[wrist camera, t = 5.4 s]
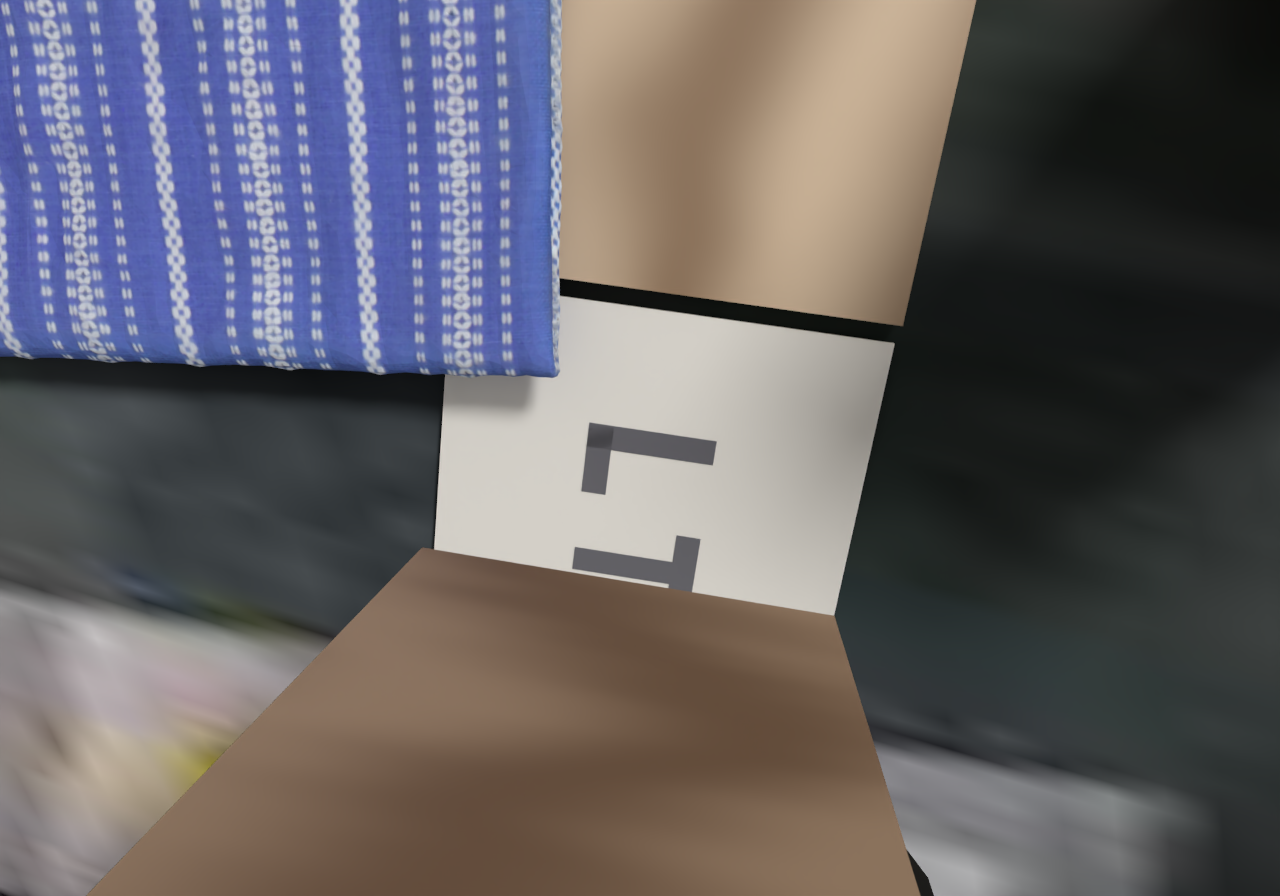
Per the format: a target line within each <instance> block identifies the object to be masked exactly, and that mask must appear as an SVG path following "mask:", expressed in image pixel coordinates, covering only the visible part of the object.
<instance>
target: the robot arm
mask: <svg viewBox="0 0 1280 896" xmlns="http://www.w3.org/2000/svg"><path fill="white" fill-rule="evenodd" d="M906 850H907V849H906ZM907 854H908V857H909V860H910V863H911V867H912V870H913V873H914V876H915V880H916V883H917V886H918V889H919V893H920V896H934V895H933V892H932V889H931V886H930V883H929V880H928V877H927V876H926V875H925V873H924V872H923V871H922V869H921V868H920V867H919V865H918V864H917V863H916V861H915V860H914V859H913V857H912V856H911V855H910V853H909V852H908V851H907Z"/></svg>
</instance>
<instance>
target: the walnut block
mask: <svg viewBox="0 0 1280 896" xmlns="http://www.w3.org/2000/svg"><path fill="white" fill-rule="evenodd" d="M86 896H920V893H919V889H918V886H917V883H916V880H915V876H914V873H913V870H912V867H911V863H910V860H909V857H908V854H907V850H906V847H905V844H904V841H903V837H902V834H901V831H900V828H899V824H898V821H897V818H896V815H895V811H894V808H893V805H892V802H891V798H890V795H889V792H888V789H887V785H886V782H885V779H884V776H883V772H882V769H881V766H880V763H879V759H878V756H877V753H876V750H875V746H874V743H873V740H872V737H871V734H870V730H869V727H868V724H867V721H866V717H865V714H864V711H863V708H862V704H861V701H860V698H859V695H858V691H857V688H856V685H855V682H854V678H853V675H852V672H851V669H850V665H849V662H848V659H847V656H846V652H845V649H844V646H843V643H842V639H841V636H840V633H839V630H838V626H837V623H836V620H835V617H834V616H833V615H827V614H821V613H815V612H809V611H803V610H797V609H791V608H785V607H779V606H773V605H767V604H761V603H755V602H749V601H743V600H737V599H731V598H725V597H718V596H712V595H706V594H700V593H694V592H688V591H682V590H676V589H670V588H664V587H658V586H652V585H646V584H640V583H634V582H628V581H622V580H616V579H610V578H604V577H598V576H591V575H585V574H579V573H573V572H567V571H561V570H555V569H549V568H543V567H537V566H531V565H525V564H519V563H513V562H507V561H501V560H495V559H489V558H483V557H477V556H471V555H465V554H458V553H452V552H446V551H440V550H434V549H428V548H421V549H420V550H419V551H418V552H417V553H416V554H415V556H414V557H413V558H412V559H411V560H410V561H409V562H408V563H407V564H406V565H405V566H404V567H403V568H402V569H401V570H400V571H399V572H398V573H397V574H396V575H395V576H394V577H393V578H392V579H391V580H390V581H389V582H388V583H387V585H386V586H385V587H384V588H383V589H382V590H381V591H380V592H379V593H378V594H377V595H376V596H375V597H374V598H373V599H372V600H371V601H370V602H369V603H368V604H367V605H366V606H365V607H364V608H363V609H362V610H361V611H360V612H359V614H358V615H357V616H356V617H355V618H354V619H353V620H352V621H351V622H350V623H349V624H348V625H347V626H346V627H345V628H344V629H343V630H342V631H341V632H340V633H339V634H338V635H337V636H336V637H335V638H334V639H333V640H332V641H331V643H330V644H329V645H328V646H327V647H326V648H325V649H324V650H323V651H322V652H321V653H320V654H319V655H318V656H317V657H316V658H315V659H314V660H313V661H312V662H311V663H310V664H309V665H308V666H307V667H306V668H305V669H304V670H303V672H302V673H301V674H300V675H299V676H298V677H297V678H296V679H295V680H294V681H293V682H292V683H291V684H290V685H289V686H288V687H287V688H286V689H285V690H284V691H283V692H282V693H281V694H280V695H279V696H278V697H277V698H276V699H275V701H274V702H273V703H272V704H271V705H270V706H269V707H268V708H267V709H266V710H265V711H264V712H263V713H262V714H261V715H260V716H259V717H258V718H257V719H256V720H255V721H254V722H253V723H252V724H251V725H250V726H249V727H248V728H247V730H246V731H245V732H244V733H243V734H242V735H241V736H240V737H239V738H238V739H237V740H236V741H235V742H234V743H233V744H232V745H231V746H230V747H229V748H228V749H227V750H226V751H225V752H224V753H223V754H222V755H221V756H220V757H219V759H218V760H217V761H216V762H215V763H214V764H213V765H212V766H211V767H210V768H209V769H208V770H207V771H206V772H205V773H204V774H203V775H202V776H201V777H200V778H199V779H198V780H197V781H196V782H195V783H194V784H193V785H192V787H191V788H190V789H189V790H188V791H187V792H186V793H185V794H184V795H183V796H182V797H181V798H180V799H179V800H178V801H177V802H176V803H175V804H174V805H173V806H172V807H171V808H170V809H169V810H168V811H167V812H166V813H165V814H164V816H163V817H162V818H161V819H160V820H159V821H158V822H157V823H156V824H155V825H154V826H153V827H152V828H151V829H150V830H149V831H148V832H147V833H146V834H145V835H144V836H143V837H142V838H141V839H140V840H139V841H138V842H137V843H136V845H135V846H134V847H133V848H132V849H131V850H130V851H129V852H128V853H127V854H126V855H125V856H124V857H123V858H122V859H121V860H120V861H119V862H118V863H117V864H116V865H115V866H114V867H113V868H112V869H111V870H110V871H109V872H108V874H107V875H106V876H105V877H104V878H103V879H102V880H101V881H100V882H99V883H98V884H97V885H96V886H95V887H94V888H93V889H92V890H91V891H90V892H89V893H88V894H87V895H86Z"/></svg>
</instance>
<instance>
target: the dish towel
mask: <svg viewBox="0 0 1280 896" xmlns="http://www.w3.org/2000/svg"><path fill="white" fill-rule="evenodd" d="M561 15H562V0H0V357H11V356H17V357H22V358H28V359H36V358H68V359H88V360H95V361H104V362H110V363H116V362H132V361H139V362H146V363H177V364H188V365H193V366H198V367H205V366H211V365H246V366H269V367H275V368H281V369H286V370H296V369H319V370H345V371H362V372H370V373H374V374H378V375H384V374H391V373H404V372H408V373H420V374H425V375H435V374H447V375H454V376H462V377H467V378H474V377H478V376H489V375H503V376H511V377H517V376H524V375H529V376H534V377H548V378H554V377H557V376H558V374H559V372H560V366H559V357H558V340H559V328H560V281H559V248H560V236H559V235H560V226H561V223H560V216H561V209H562V204H561V191H562V183H561V172H562V164H561V153H562V148H563V146H562V139H561V137H562V132H563V127H562V121H561V117H562V104H561V92H562V82H561V71H562V64H561V52H562V39H561V33H562V17H561Z"/></svg>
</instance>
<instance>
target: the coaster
mask: <svg viewBox="0 0 1280 896" xmlns="http://www.w3.org/2000/svg"><path fill="white" fill-rule="evenodd" d="M975 3H976V0H562V15H561V17H562V33H561V39H562V52H561V64H562V71H561V82H562V92H561V104H562V117H561V121H562V127H563V132H562V137H561V139H562V146H563V148H562V153H561V164H562V172H561V183H562V191H561V204H562V209H561V216H560V223H561V226H560V235H559V236H560V248H559V278H563V279H570V280H577V281H584V282H591V283H598V284H605V285H613V286H620V287H627V288H634V289H641V290H648V291H655V292H662V293H670V294H677V295H684V296H691V297H698V298H705V299H712V300H719V301H727V302H734V303H741V304H748V305H755V306H762V307H769V308H777V309H784V310H791V311H798V312H805V313H812V314H819V315H826V316H834V317H841V318H848V319H855V320H862V321H869V322H876V323H883V324H891V325H898V326H903V323H904V319H905V314H906V310H907V305H908V301H909V296H910V292H911V287H912V283H913V279H914V274H915V270H916V265H917V261H918V256H919V252H920V247H921V243H922V239H923V234H924V230H925V225H926V221H927V216H928V212H929V207H930V203H931V199H932V194H933V190H934V185H935V181H936V176H937V172H938V167H939V163H940V158H941V154H942V150H943V145H944V141H945V136H946V132H947V127H948V123H949V118H950V114H951V110H952V105H953V101H954V96H955V92H956V87H957V83H958V78H959V74H960V70H961V65H962V61H963V56H964V52H965V47H966V43H967V38H968V34H969V30H970V25H971V21H972V16H973V12H974V7H975Z"/></svg>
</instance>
